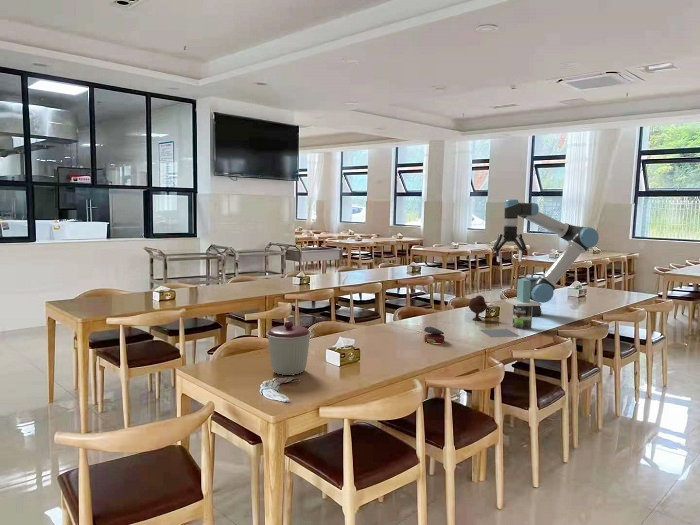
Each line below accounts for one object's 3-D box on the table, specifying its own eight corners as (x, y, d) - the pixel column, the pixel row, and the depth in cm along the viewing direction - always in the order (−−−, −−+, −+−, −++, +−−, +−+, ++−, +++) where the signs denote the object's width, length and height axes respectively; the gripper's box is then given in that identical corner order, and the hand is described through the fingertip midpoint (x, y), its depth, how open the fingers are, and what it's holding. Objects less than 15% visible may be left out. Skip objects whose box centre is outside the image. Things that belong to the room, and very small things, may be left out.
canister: (277, 363, 222) (277, 315, 219) (317, 367, 216) (317, 317, 214) (258, 376, 204) (257, 324, 202) (301, 381, 199) (301, 327, 197)
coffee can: (526, 331, 281) (528, 306, 280) (509, 328, 288) (510, 303, 287) (534, 328, 289) (536, 303, 287) (517, 325, 296) (518, 301, 294)
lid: (528, 300, 295) (530, 277, 293) (541, 305, 281) (542, 281, 280) (505, 301, 293) (506, 278, 291) (516, 306, 279) (517, 281, 278)
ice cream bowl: (484, 318, 314) (485, 293, 312) (487, 322, 303) (488, 297, 301) (466, 317, 315) (467, 293, 313) (469, 321, 304) (470, 296, 302)
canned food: (423, 350, 260) (417, 331, 263) (440, 346, 264) (434, 327, 267) (433, 345, 250) (427, 325, 253) (451, 341, 254) (444, 321, 257)
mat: (507, 330, 284) (507, 329, 284) (520, 337, 268) (520, 336, 268) (479, 330, 282) (479, 329, 282) (491, 338, 266) (491, 337, 266)
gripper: (527, 225, 312) (526, 260, 314) (487, 225, 308) (486, 261, 310) (533, 226, 304) (532, 262, 306) (493, 226, 301) (491, 262, 303)
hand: (509, 261), depth 308 cm, fingers open, 13 cm apart
